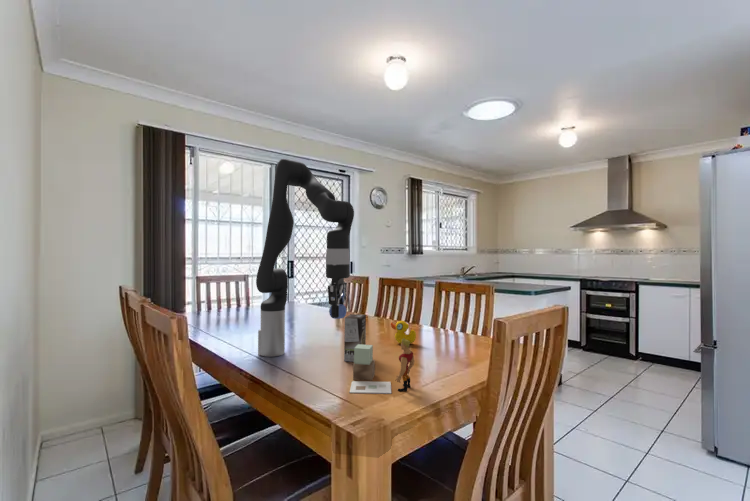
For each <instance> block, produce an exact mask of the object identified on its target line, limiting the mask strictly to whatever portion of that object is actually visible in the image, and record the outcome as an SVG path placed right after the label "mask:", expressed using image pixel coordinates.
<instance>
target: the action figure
mask: <svg viewBox="0 0 750 501" xmlns="http://www.w3.org/2000/svg"><path fill="white" fill-rule="evenodd" d="M410 344H411V343H410V341H408V340H406V339H405V338H404V339H402V343H401V344H400V348H401V350H403V352H402V353H401V354H400V355H399V356H398V361H399V362H400V371H399V374H397V375H396V379H395V381H396V383H400V384H401V383H402V382H403V384H402V386H403V387H402V388H398V389H397V391H398V392H407V391H408V389H410V388H411V377H410V372H411V369H412V368H413V366H414V365H415V357H414V351H412V350H411V349H410V348H409V347H410ZM401 380H402V382H401Z"/></svg>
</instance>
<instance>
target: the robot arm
mask: <svg viewBox="0 0 750 501" xmlns="http://www.w3.org/2000/svg"><path fill="white" fill-rule="evenodd" d="M277 162H278V163H277V164H276V166H275V173H274V182H273V190H272V191H273V193H272V202H271V208H270V212H269V217H268V223H267V228H266V236H265V242H264V247H263V250H262V256H261V260H260V262H259V265H258V269H257V274H256V279H255V284H256V288H257V291H258V292H259V293H262V294H268V293H270V296H269V297H268V298H266V299H265V300H263V301H262V302H261V303H260V329H258V332H257V334H258V335H257V337H258V338H257V339H258V340H257V344H258V345H257V355H258V356H262V357H278V356H282V355H284V354H286V353H285V350H286V347H285V345H286V342H285V341H286V340H285V339H286V337H285V336H286V305H287V299H288V286H289V284H288V282H289V280H288V279H289V278H288V274H287V272H286V270H285V269H283V268H275V265H276V262H277V260H278V257H279V256H280V255H281V253H282V252H283V251H284V250H285V249H286V247H287V245H288V244H289V243H290V241H291V239H292V234H293V229H294V220H295V219H294V217H293V214H292V211H291V209H290V205H289V202H288V199H287V198H288V196H287V192H288V186H292V187H300V188H302V189H303V190H305V195H306V198H307V199H308V201H309V202H310V203H311V204H312V205H313V206H315V207H316V208H317V211H318V212H319V214H320V216H321V218H322V219H323V220H324V221H326V222H329V223H337V226H336V228H335V229H332V230H329V231H328V232H327V233H326V253H325V277H326V279H331V282H330V285H327V296H328V298H327V299H328V305H330V307H331V316H332V317H331V316H330V317H331V319H334V318H338V317H339V304H342V305H344V306H345V304H344V303H346V302H345V301H346V300H347V287H348V286H347V285H348V282H346V281H344V280H345V279H348V278H350V273H351V272H350V262H351V261H350V258H351V257H350V251H349V250H350V244H349V243H350V239H349V238H350V233H351V229H352V226H353V225H352V224H353V221H354V218H355V217H354V216H355V209H354V207H353V204H352V203H351V202H349V201H347V200H345V201H344V200H337V199H336V197H335V195H334V193H332V191H331V190H329V189H328V188H327V187H325V186H324V185H323V184H322V183H321V182H320V181H319V180H318V179H317V178H316V177H315V175H314V174H313V173H312V171H311V169H310V168H309V166H307V165H306V164H305V163H303V162H301V161H297V160H293V159H287V158H281V159H280V160H278V161H277Z"/></svg>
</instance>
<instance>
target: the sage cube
mask: <svg viewBox="0 0 750 501" xmlns="http://www.w3.org/2000/svg"><path fill="white" fill-rule="evenodd" d="M373 351H374V346H373V344H366V345H362V344H358V345H357V346H356V347H355V348H354V362H353V364H364V365H370V363H371V362H372V360H374V358H373V357H374V355H373V354H374V352H373Z"/></svg>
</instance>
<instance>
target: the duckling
mask: <svg viewBox="0 0 750 501" xmlns="http://www.w3.org/2000/svg"><path fill="white" fill-rule="evenodd" d="M390 327H391V329H392V330H396V332H395V334H394V338H395V341H396V342H397V343H398V344H400V345H401V343H402V339H404V338H405V339H406V340H408V341H410V344H412V343H414V342H415V341H416V338H417V333H416V331H415V330H414V329H411V330H410V331H409V334H407V333H406V332H407V331H408V329H409V327H410V325H409V324H408V323H407V322H406V321H404V320H399V321H398V320H397V322H396V323H393V322H391V323H390Z"/></svg>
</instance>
